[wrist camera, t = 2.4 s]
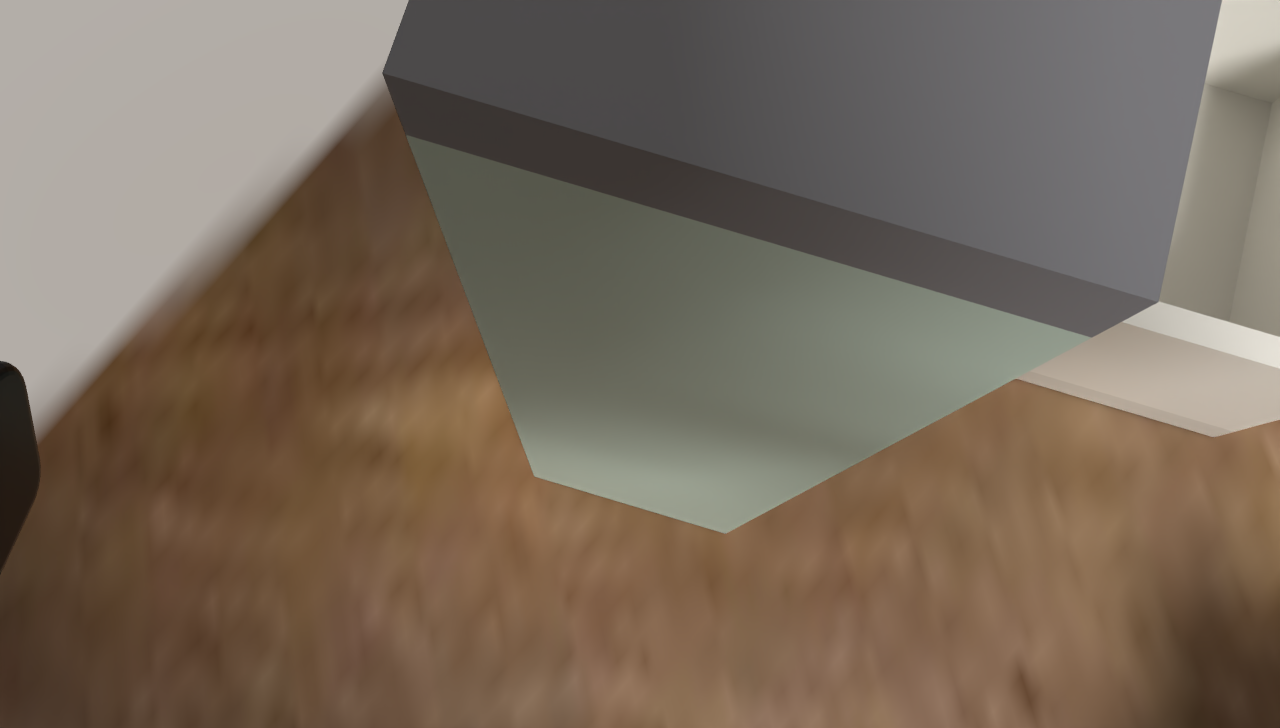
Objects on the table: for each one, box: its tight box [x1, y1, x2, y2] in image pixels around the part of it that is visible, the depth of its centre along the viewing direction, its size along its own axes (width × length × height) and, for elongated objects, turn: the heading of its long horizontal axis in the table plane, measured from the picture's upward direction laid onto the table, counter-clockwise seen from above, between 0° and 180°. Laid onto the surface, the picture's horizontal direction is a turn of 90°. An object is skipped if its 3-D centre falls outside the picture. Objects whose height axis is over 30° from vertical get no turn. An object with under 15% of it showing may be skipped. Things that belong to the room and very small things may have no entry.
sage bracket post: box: [383, 0, 1222, 534], centre depth 12 cm, size 3×3×14 cm
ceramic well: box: [1016, 0, 1280, 437], centre depth 18 cm, size 6×6×4 cm
